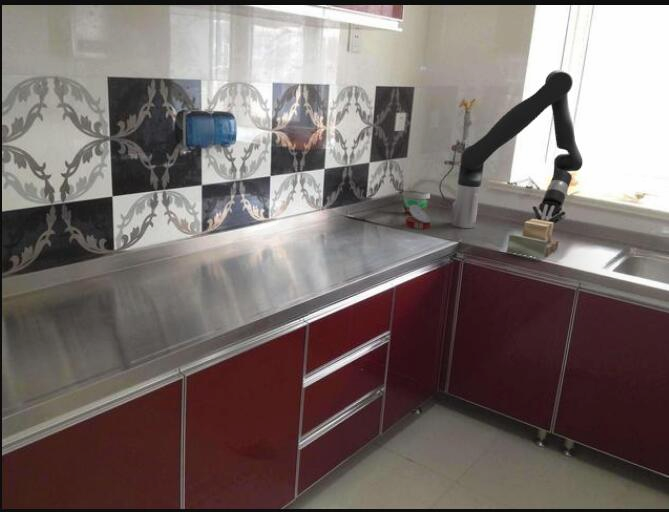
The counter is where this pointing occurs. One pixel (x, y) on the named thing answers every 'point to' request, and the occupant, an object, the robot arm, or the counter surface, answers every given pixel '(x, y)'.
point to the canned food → (418, 218)
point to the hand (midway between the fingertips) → (541, 230)
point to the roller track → (531, 246)
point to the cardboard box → (538, 229)
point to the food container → (414, 200)
